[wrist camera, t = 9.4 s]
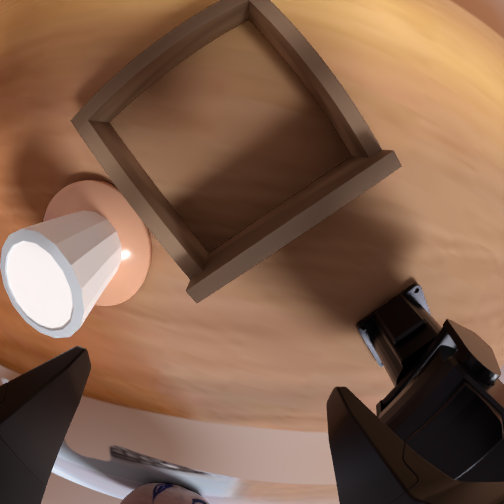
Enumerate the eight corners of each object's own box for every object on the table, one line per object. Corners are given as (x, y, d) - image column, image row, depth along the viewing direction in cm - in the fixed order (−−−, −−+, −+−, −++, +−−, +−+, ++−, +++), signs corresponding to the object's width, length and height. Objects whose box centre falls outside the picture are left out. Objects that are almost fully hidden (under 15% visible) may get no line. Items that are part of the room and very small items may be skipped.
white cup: (122, 300, 20) (82, 356, 14) (54, 270, 20) (3, 311, 13) (138, 218, 18) (87, 255, 12) (61, 191, 17) (-2, 213, 11)
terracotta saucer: (178, 258, 20) (176, 262, 19) (99, 319, 22) (96, 324, 21) (97, 151, 17) (91, 151, 16) (31, 232, 19) (26, 235, 18)
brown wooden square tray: (370, 161, 18) (401, 166, 14) (206, 272, 20) (196, 303, 16) (252, 4, 14) (253, -28, 10) (92, 122, 16) (57, 119, 12)
